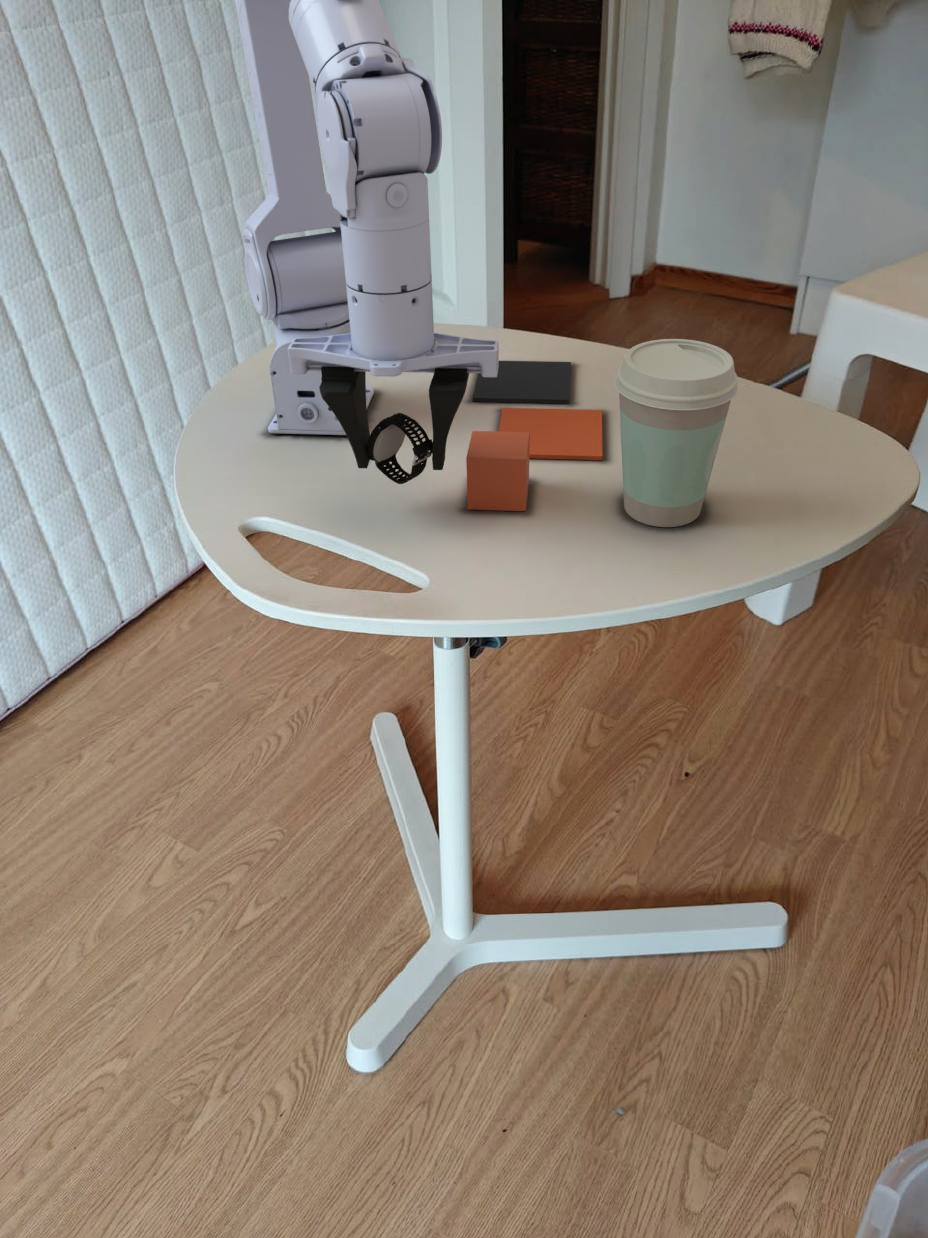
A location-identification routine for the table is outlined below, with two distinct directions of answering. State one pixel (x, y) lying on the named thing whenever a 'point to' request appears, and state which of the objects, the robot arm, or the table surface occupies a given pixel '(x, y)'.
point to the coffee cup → (671, 426)
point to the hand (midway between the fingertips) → (401, 462)
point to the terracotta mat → (557, 432)
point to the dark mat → (525, 383)
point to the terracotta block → (498, 470)
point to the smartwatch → (398, 446)
